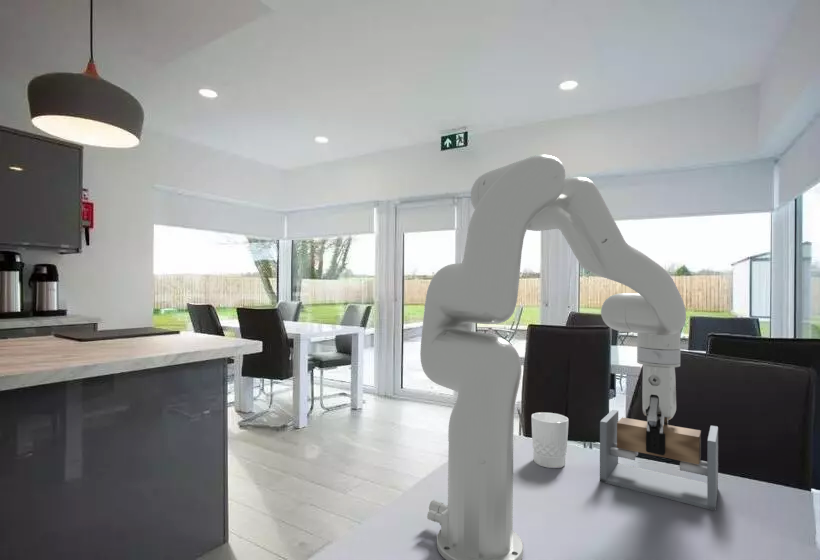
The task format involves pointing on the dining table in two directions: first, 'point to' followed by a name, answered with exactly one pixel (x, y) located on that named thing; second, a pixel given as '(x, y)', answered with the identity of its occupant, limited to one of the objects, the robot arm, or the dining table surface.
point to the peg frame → (657, 481)
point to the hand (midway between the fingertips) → (657, 448)
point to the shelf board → (677, 440)
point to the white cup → (549, 439)
